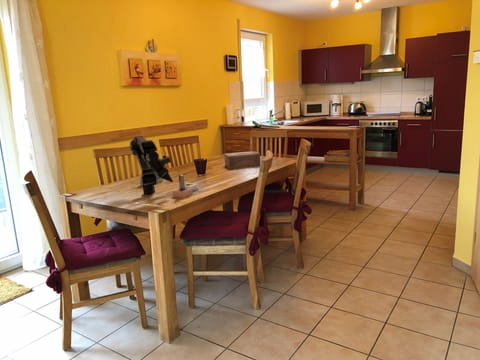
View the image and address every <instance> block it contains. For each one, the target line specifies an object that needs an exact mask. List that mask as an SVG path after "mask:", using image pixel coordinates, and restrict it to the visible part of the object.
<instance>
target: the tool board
mask: <svg viewBox="0 0 480 360" xmlns="http://www.w3.org/2000/svg"><path fill="white" fill-rule="evenodd" d="M205 191H207V189H205V188H204V189H203V188H202V189H200V188H198V190H195V191H193V194H192V195H190V196H187V197H185V198H182V197H173V192H172V193H169V194H166V195H163V196H162V197H163V198H173V199H181V200H186V199H188V198H191V197H194V196H195V195H198V194H201V193H203V192H205Z"/></svg>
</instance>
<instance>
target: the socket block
mask: <svg viewBox="0 0 480 360" xmlns="http://www.w3.org/2000/svg"><path fill="white" fill-rule="evenodd" d="M178 188H180V186H179V185H178ZM185 188H192V192H193V191H195V190H198V189H199V185H198V183H191V182H186V183H185Z"/></svg>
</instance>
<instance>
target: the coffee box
mask: <svg viewBox="0 0 480 360" xmlns="http://www.w3.org/2000/svg"><path fill="white" fill-rule="evenodd" d="M161 159H162V158H159V160H161ZM147 164H148V163H147ZM148 167H149V169H153V168H152V167H151V166H150V165H149V164H148ZM153 172H154V174H155V175H156V177H157V180H156V184H159V183H163V182H164V179H162V178H160V177H159V176H158V175H157V172H156V171H155V170H154V169H153Z"/></svg>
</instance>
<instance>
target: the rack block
mask: <svg viewBox="0 0 480 360" xmlns="http://www.w3.org/2000/svg"><path fill="white" fill-rule="evenodd" d="M172 193H173V197H182V198H185V197H187V196H190V195H192V194H193V192H192V188H185V190H184V191H180V188H179V187H178V188H176V189H173V190H172Z"/></svg>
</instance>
